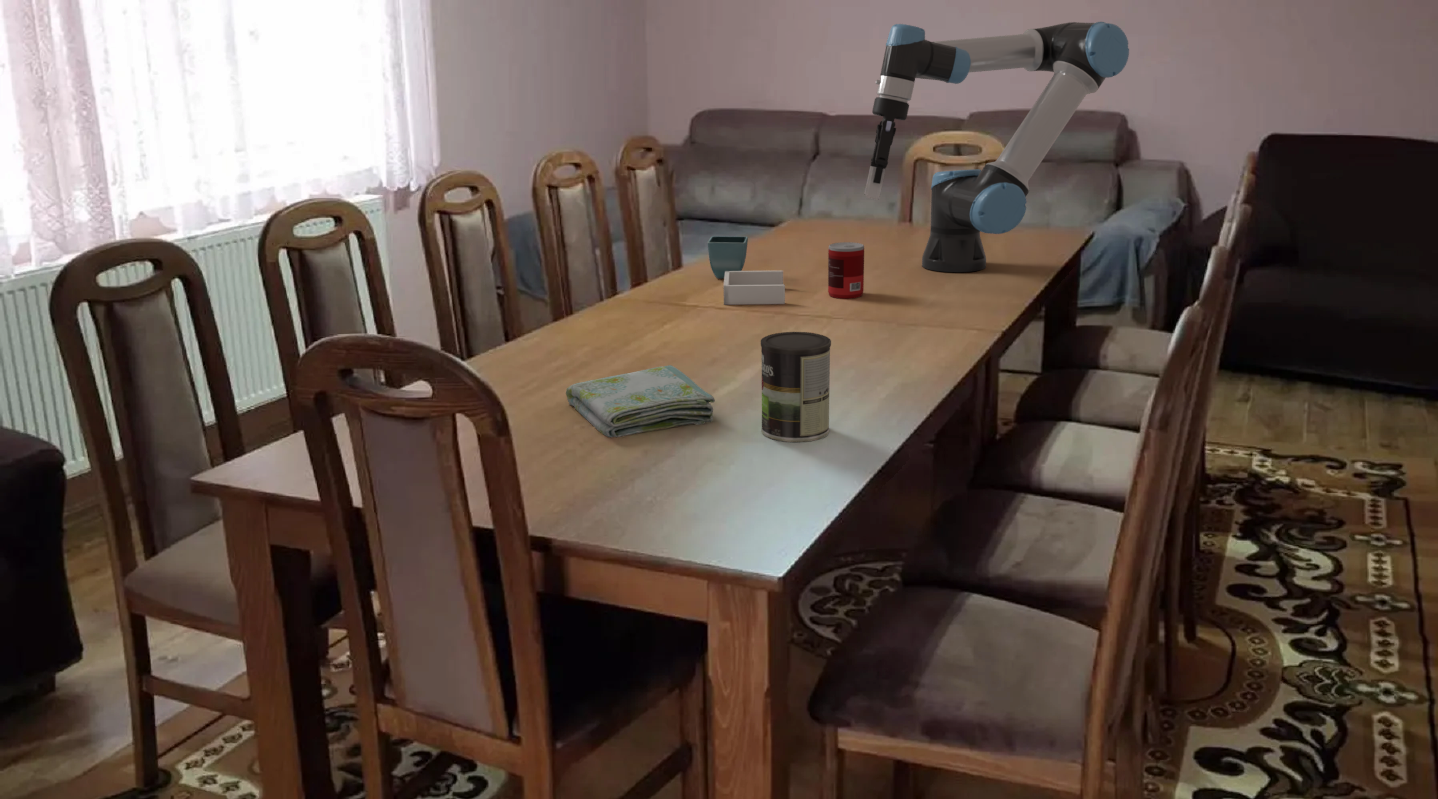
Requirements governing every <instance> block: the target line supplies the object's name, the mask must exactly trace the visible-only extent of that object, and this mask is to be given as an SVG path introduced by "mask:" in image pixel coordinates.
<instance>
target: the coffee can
mask: <svg viewBox="0 0 1438 799" xmlns="http://www.w3.org/2000/svg"><path fill="white" fill-rule="evenodd" d="M831 346H832V340H831V338H830V337H828V336H825V335H823V334H819V333H816V332H815V333H814V332H808V331H784V332H778V333H773V334H772V333H771V334H768V335H765V336H763V337H762V338H761V339H760V347H761V348H760V349H761V431H760V432H761V434H762V435H763V436H764V437H766V438H767V439H771V440H775V441H778V442H783V443H805V442H812V441H813V442H814V441H817V440H821V439H824V438H825V437H826V436H828V435H829V433H830V379H831V378H830V376H831V375H830V374H831V371H830V370H831Z"/></svg>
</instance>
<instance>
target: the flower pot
mask: <svg viewBox="0 0 1438 799" xmlns="http://www.w3.org/2000/svg"><path fill="white" fill-rule="evenodd" d="M748 238H749V237H748V236H731V235H729V236H726V235H723V236H722V235H720V236H719V235H718V236H717V235H713V236H710V238H709V240H707V243H706V244H707V249H708V250H707V251H708V261H709V264H710V269H711V270H712V273H713V275H714V276H715V278H716V279H724V276H725V271H743V268H744V266H745V263H746V259H747V253H748V252H747V250H748V240H749V239H748Z"/></svg>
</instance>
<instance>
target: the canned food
mask: <svg viewBox="0 0 1438 799" xmlns="http://www.w3.org/2000/svg"><path fill="white" fill-rule="evenodd" d="M827 253H828V255H827V257H828V258H827V259H828V261H827V264H828V265H827V266H828V267H827V271H828V273H827V274H828V275H827V276H828V277H827V281H828V282H827V292H828V295H829V297H830V298H834V299H839V300H849V299H857V298H860V297H862V296H863V294H864V290H865V289H864V287H865V285H864V284H865V281H864V279H865V277H864V276H865V245H864V244H863V243H859V242H850V241H847V242H845V241H844V242H835V243H831V244H829V245H828V252H827Z"/></svg>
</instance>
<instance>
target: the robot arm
mask: <svg viewBox="0 0 1438 799" xmlns="http://www.w3.org/2000/svg"><path fill="white" fill-rule="evenodd" d="M1129 56H1130V48H1129V40H1128V37H1127V34H1126V33H1125V32H1124V30H1123V29H1122V28H1121V27H1119V26H1118V25H1116V24H1114V23H1110V22H1105V21H1097V22H1075V21H1073V22H1072V21H1071V22H1070V21H1069V22H1065V23H1059V24H1054V25H1050V26H1044V27H1038V28H1030V29H1027V30H1025V31H1024V32H1023V34H1022V33H1021V34H1011V35H1010V34H1009V35H1007V34H1006V35H999V36H998V35H997V36H995V35H994V36H985V37H973V38H972V37H971V38H960V39H950V40H938V41H937V40H936V41H930V40H927V39H926V30H925V29H923V27H922V28H921V27H920V26H916V25H911V24H903V23H895V24H893V25H892V26H891V27H890V30H889V33H888V38H887V40H886V43H885V51H884V55H883V60H882V65H881V69H880V76H879V79H876V80H875V85H878V86H877V88H876V94H877V95H878V97H877V96H876V97H875V98H874V101H873V106H872V114H873V115H874V116H878V117H882V120H881V121H879V124H877V125H876V129H875V130H876V131H875V133H876V134H875V139H874V142H875V144H874V150H873V154H872V157H871V159H870V167H869V171H868V176H867V180H866V185H865V189H864V195H865V196H866V198H868V199H873V200H877V201H879V200H880V197H881V192H882V188H883V183H884V179H885V176H886V168H887V166H888V163H889V162H888V161H889V155H890V150H891V146H892V144H893V141H894V137H895V135H896V133H897V132H896V131H897V128H896V122H895V120H899V121H905V120H907V118H908V114H909V113H908V112H909V109H910V104H909V103H908V102H909V101H911V100H912V96H913V91H914V86H915V82H916V79H921V80H931V81H940V82H943V83H946V84H955V85H956V84H957V85H958V84H961V83H963V82H964V81H965V80H966V78H967V77H968V75H969V73H976V72H977V73H979V72H980V73H981V72H989V71H990V72H991V71H992V72H993V71H1001V70H1002V71H1003V70H1011V69H1015V70H1016V69H1024V70H1025V71H1027V72H1052V73H1054V74H1053V75H1052V77H1051V79H1050V80H1049V82H1048V84H1046V86H1045V88H1044V89H1043V91H1042V92H1041V93H1040V95H1039V96H1038V98H1037V100H1036V101H1035V103H1034V104H1033V106H1032V107H1031V108H1030V110H1029V112H1027V115H1026V116H1025V117H1024V119H1023V120H1022V122H1020V123H1021V124H1020V125H1019V126H1018V127H1017V130H1015V132H1014V134H1013V135H1012V137H1011V138H1010V140H1009V141H1008V143H1007V144H1006V145H1005V147H1004V149H1003V150H1002V151H1001V153H1000V155H999V156H998V158H997V159H996V160H995V161H992V162H987V163H986V164H985V165H984V167H983V168H982V169H980V168H977V169H976V168H975V169H960V170H958V169H956V170H943V171H937V172H935V173H934V174H933V175H932V179H931V186H930V190H931V199H930V200H931V201H930V202H931V203H930V204H931V205H930V206H931V207H930V234H929V237H928V239H927V243H926V244H925V245H926V246H925V248H924V251H923V253H922V257H921V258H922V259H921V267H923V268H924V269H927V270H929V271H935V272H941V273H942V272H943V273H968V272H969V273H971V272H977V271H978V272H979V271H981V270H984V269H986V268H987V257H986V252H985V250H984V249H985V248H984V246H983V243H982V239H981V232H982V233H984V234H992V235H1000V234H1005V233H1008V232H1010V231H1012V230H1013V229H1015V228H1016V227H1017V226H1018V225H1019V224H1020V223H1021V222H1022V220H1023V218H1024V217H1025V214H1026V211H1027V207H1026V204H1027V196H1028V194H1029V192H1030V186H1029V181H1030V179H1031V178H1032V177H1033V175H1034V173H1035V172H1036V170H1037V168H1038V167H1040V164H1041V163H1042V161H1043V160H1044V159H1045V157H1046V155H1047V154H1048V152H1049V151H1050V149H1051V148H1052V146H1053V145H1054V144H1055V142H1056V140H1057V139H1058V138H1059V136H1060V134H1061V133H1062V131H1063V130H1064V128H1065V127H1066V125H1067V124H1068V123H1069V121H1070V120H1071V118H1072V116H1073V115H1074V114H1075V112H1076V111H1077V109H1078V108H1079V107H1080V104H1081V103H1082V102H1083V100H1084V99H1085V97H1086V96H1087V95H1089V94H1094V93H1096V92H1098V90H1099V89H1100V87H1101V85H1102V84H1103V82H1104V81H1105V80H1106V78H1108V79H1109V78H1114V77H1115V76H1117V75H1119V74H1120V73H1121V72H1122V71H1123V70H1124V69H1125V67H1126V65H1127V63H1128V61H1129Z"/></svg>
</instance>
